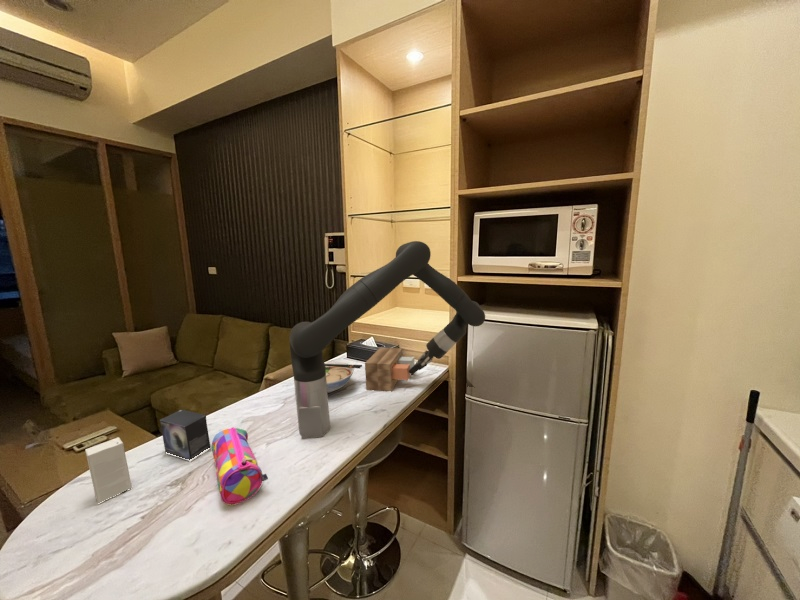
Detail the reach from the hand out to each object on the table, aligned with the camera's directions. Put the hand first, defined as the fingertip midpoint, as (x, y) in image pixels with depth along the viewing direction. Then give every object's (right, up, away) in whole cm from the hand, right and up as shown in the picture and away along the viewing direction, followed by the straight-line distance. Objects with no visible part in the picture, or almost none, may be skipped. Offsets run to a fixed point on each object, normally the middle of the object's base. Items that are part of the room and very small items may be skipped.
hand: (410, 372), depth 123 cm
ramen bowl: (-34, -7, +2) cm, 34 cm away
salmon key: (-4, -2, +2) cm, 5 cm away
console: (-10, -5, +8) cm, 14 cm away
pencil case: (-44, -15, -46) cm, 65 cm away
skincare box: (-71, -17, -50) cm, 88 cm away
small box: (-64, -14, -35) cm, 74 cm away
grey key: (-2, -1, +10) cm, 10 cm away
